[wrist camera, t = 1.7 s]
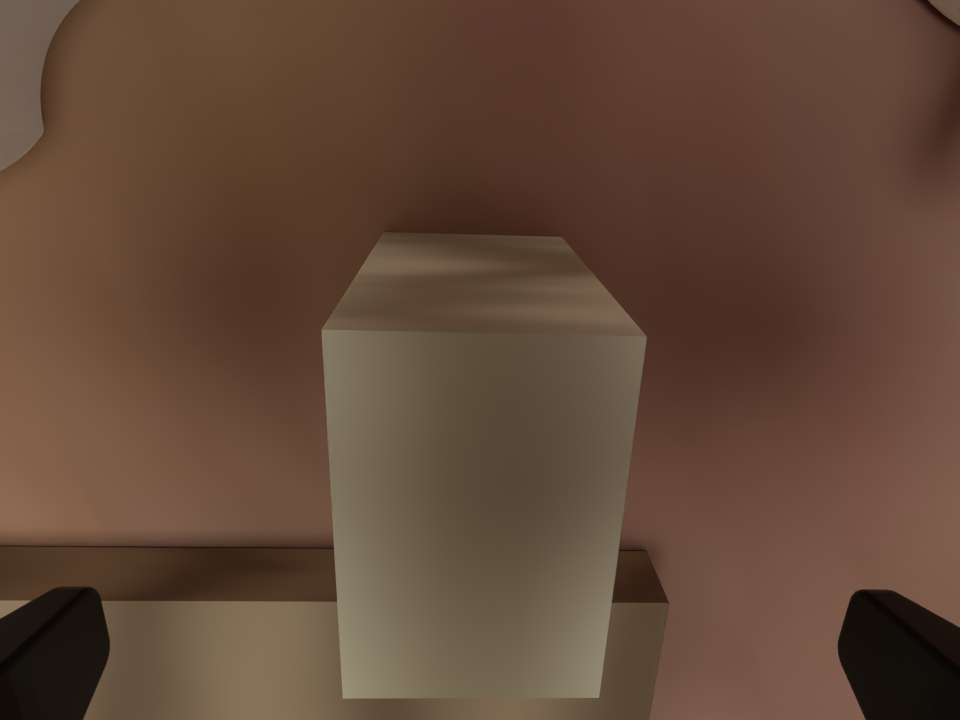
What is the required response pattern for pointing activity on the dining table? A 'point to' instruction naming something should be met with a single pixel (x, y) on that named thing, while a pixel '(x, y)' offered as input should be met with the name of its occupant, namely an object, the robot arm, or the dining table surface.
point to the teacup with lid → (948, 9)
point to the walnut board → (288, 637)
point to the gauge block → (477, 466)
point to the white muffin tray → (24, 70)
